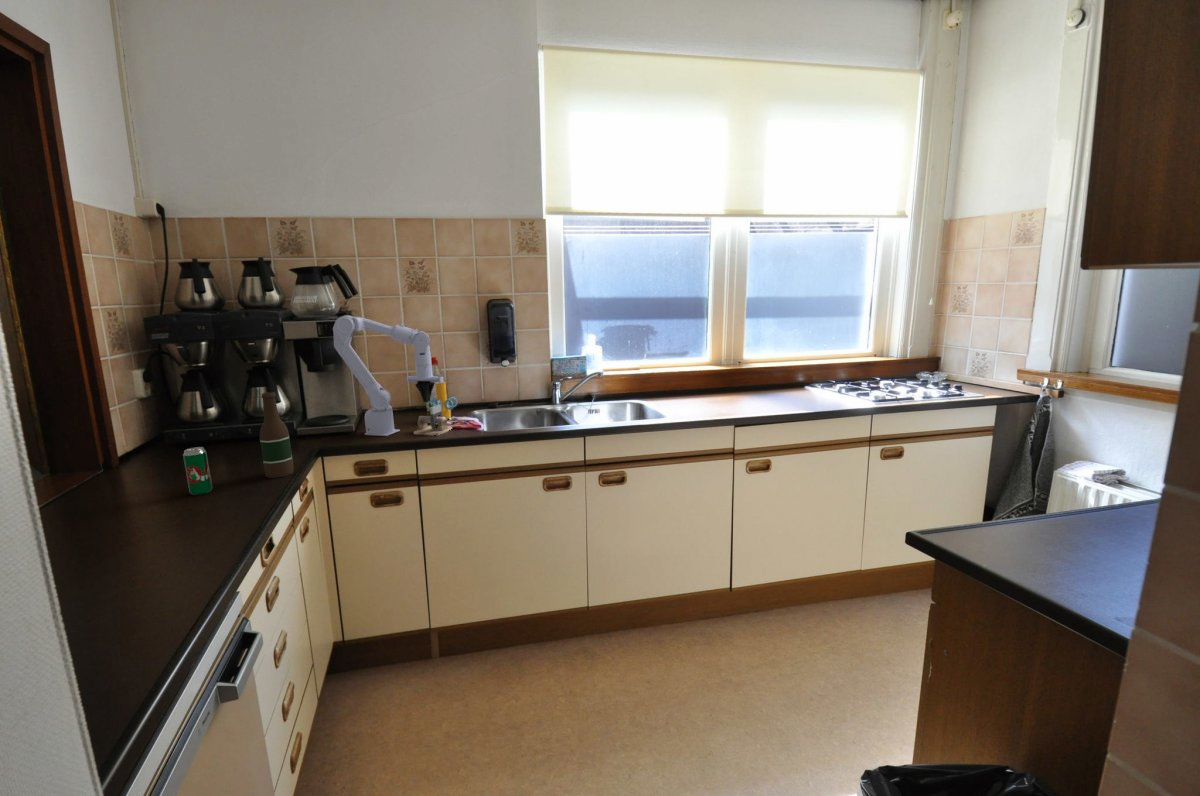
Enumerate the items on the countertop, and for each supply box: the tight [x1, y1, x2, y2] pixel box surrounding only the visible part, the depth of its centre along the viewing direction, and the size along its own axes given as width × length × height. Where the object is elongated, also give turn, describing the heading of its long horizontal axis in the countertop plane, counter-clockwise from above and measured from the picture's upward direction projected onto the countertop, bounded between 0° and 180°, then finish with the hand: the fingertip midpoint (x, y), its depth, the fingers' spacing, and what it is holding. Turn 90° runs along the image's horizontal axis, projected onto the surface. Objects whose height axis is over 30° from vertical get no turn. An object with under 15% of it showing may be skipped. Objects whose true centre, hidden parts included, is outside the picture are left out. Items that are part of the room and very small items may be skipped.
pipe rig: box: [413, 415, 453, 437], centre depth 212 cm, size 10×9×6 cm
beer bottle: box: [259, 391, 294, 479], centre depth 167 cm, size 8×8×24 cm
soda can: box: [182, 446, 213, 496], centre depth 155 cm, size 5×5×12 cm
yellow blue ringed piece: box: [426, 381, 458, 418], centre depth 230 cm, size 12×10×15 cm
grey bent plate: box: [429, 404, 442, 429], centre depth 211 cm, size 1×5×8 cm, turn 162°
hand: (426, 401), depth 215 cm, fingers closed
